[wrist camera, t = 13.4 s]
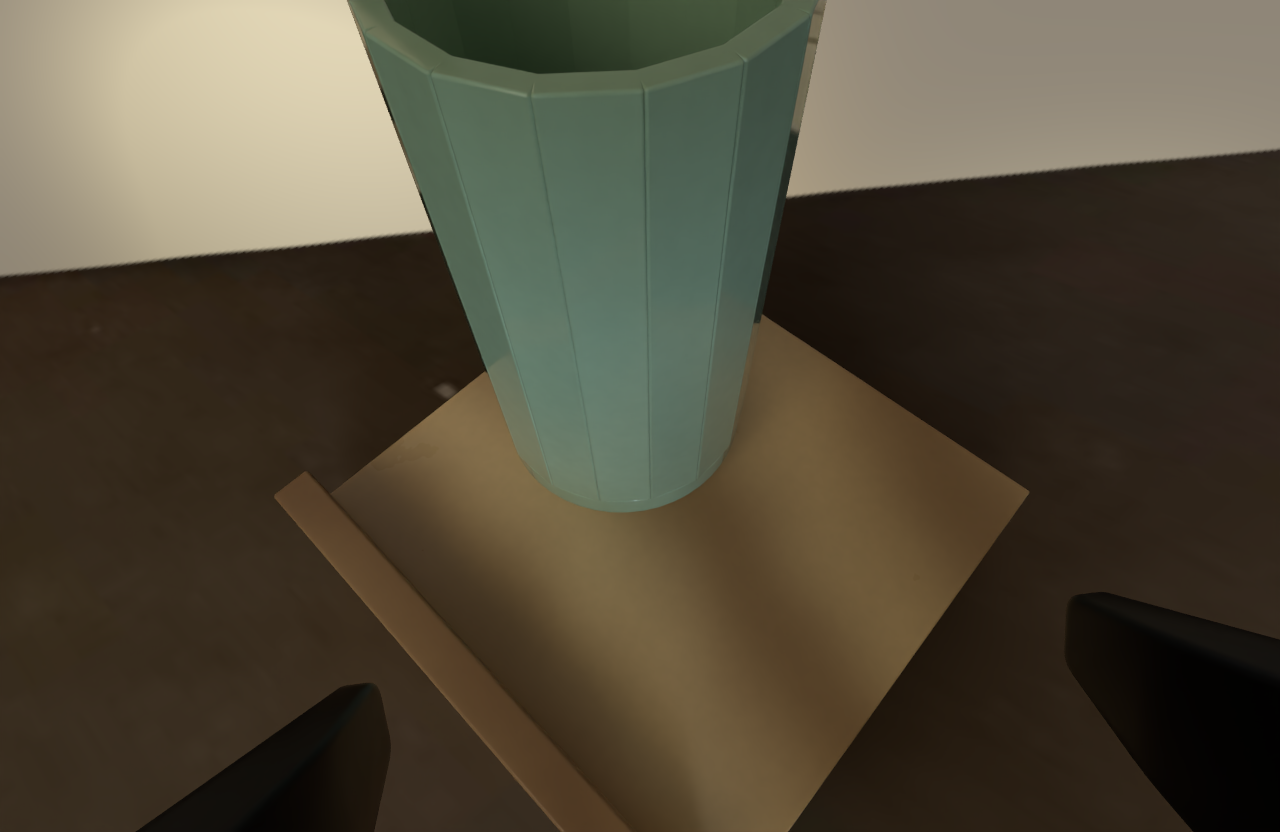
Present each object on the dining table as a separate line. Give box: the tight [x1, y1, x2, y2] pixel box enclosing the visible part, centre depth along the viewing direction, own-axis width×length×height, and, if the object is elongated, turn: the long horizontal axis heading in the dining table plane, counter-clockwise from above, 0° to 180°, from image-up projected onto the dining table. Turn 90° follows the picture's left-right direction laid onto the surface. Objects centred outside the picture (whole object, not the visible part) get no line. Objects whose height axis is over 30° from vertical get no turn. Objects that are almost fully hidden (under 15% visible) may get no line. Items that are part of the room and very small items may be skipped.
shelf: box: [274, 315, 1029, 832], centre depth 20 cm, size 14×14×6 cm
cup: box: [347, 0, 826, 513], centre depth 15 cm, size 7×7×12 cm
